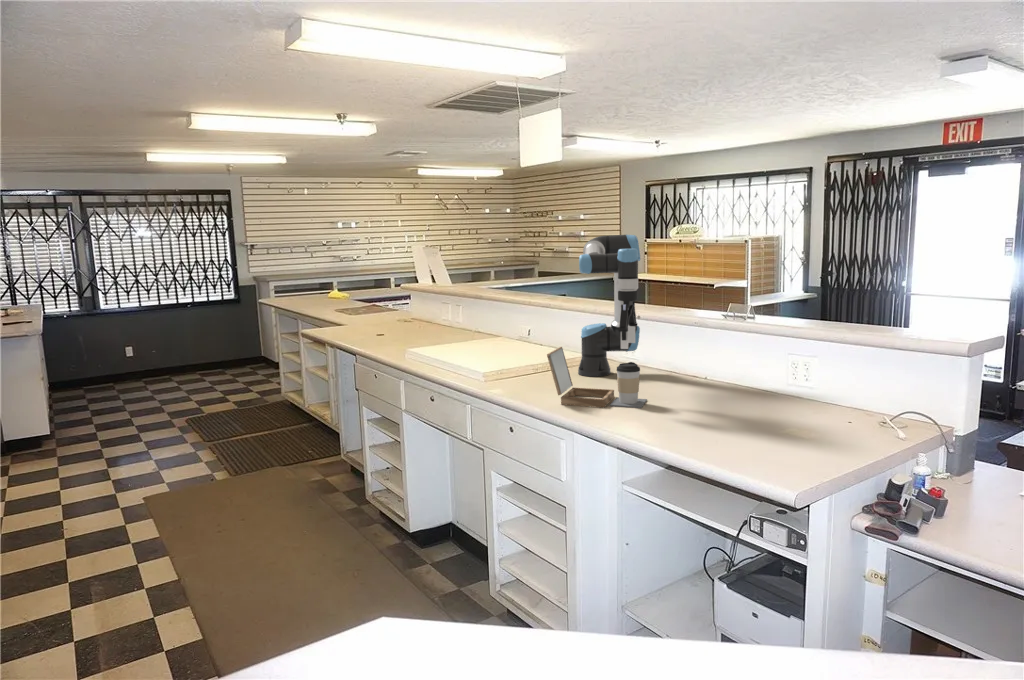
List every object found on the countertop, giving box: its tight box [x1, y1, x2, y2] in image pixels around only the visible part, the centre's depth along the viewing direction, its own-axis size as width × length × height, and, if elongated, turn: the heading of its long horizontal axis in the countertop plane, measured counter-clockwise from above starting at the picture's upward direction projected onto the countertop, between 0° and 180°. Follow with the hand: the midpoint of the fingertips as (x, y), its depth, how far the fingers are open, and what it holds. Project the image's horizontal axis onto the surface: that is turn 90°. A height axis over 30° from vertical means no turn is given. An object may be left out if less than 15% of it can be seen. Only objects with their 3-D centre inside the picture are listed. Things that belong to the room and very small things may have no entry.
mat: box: [609, 396, 648, 409], centre depth 255 cm, size 12×12×1 cm
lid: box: [546, 346, 573, 396], centre depth 263 cm, size 17×17×1 cm
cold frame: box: [560, 387, 615, 408], centre depth 261 cm, size 17×17×3 cm
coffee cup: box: [616, 361, 641, 404], centre depth 254 cm, size 9×9×15 cm
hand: (628, 345), depth 252 cm, fingers open, 13 cm apart
